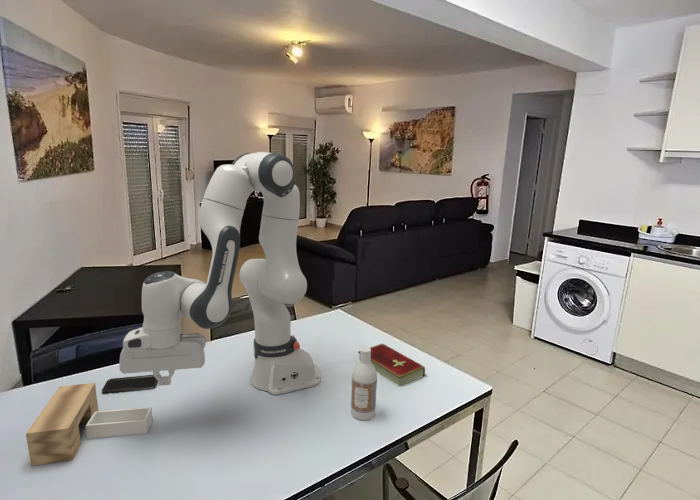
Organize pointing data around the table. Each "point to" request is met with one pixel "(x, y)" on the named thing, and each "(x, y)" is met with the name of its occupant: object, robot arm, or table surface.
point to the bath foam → (364, 387)
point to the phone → (130, 384)
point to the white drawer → (119, 422)
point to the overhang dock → (61, 424)
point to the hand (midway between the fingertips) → (164, 384)
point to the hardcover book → (395, 365)
